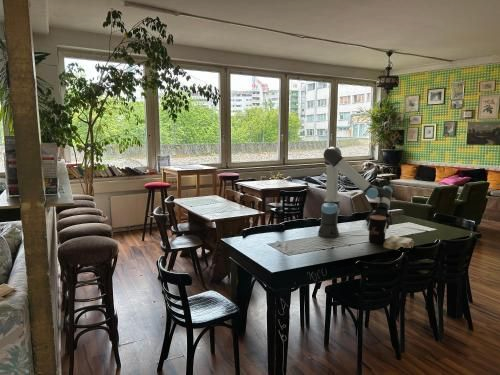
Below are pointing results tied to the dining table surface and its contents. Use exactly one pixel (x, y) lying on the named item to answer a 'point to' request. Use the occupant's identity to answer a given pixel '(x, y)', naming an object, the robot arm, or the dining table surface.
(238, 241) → the dining table surface
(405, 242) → the cream lumpy slab
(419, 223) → the dining table surface
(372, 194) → the robot arm
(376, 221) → the coffee jar
